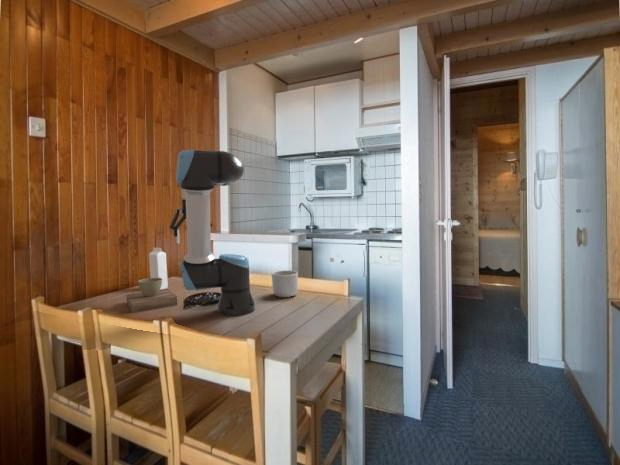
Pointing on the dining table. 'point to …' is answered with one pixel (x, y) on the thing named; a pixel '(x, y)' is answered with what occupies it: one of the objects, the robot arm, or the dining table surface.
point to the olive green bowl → (150, 286)
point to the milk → (158, 266)
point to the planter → (285, 283)
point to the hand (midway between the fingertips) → (192, 242)
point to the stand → (151, 301)
